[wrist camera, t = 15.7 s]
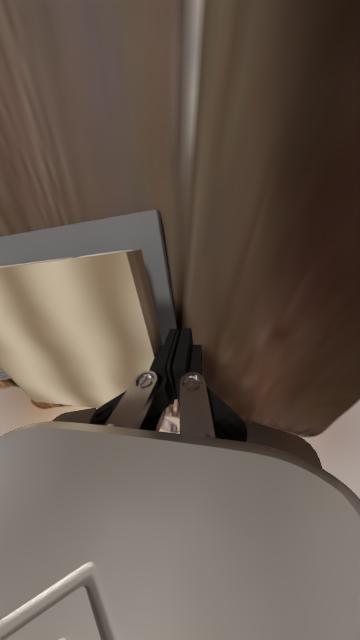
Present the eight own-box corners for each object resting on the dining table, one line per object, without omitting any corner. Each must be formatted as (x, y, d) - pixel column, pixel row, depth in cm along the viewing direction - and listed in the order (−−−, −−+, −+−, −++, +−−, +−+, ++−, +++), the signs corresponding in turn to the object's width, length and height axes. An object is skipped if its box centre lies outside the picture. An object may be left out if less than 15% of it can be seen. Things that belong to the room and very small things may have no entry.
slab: (141, 249, 9) (126, 252, 7) (173, 394, 15) (169, 413, 14) (-45, 272, 12) (-88, 279, 10) (50, 386, 18) (34, 401, 17)
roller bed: (159, 210, 12) (81, 166, 4) (183, 371, 21) (171, 446, 14) (-120, 259, 19) (-337, 274, 11) (-11, 364, 28) (-91, 411, 20)
